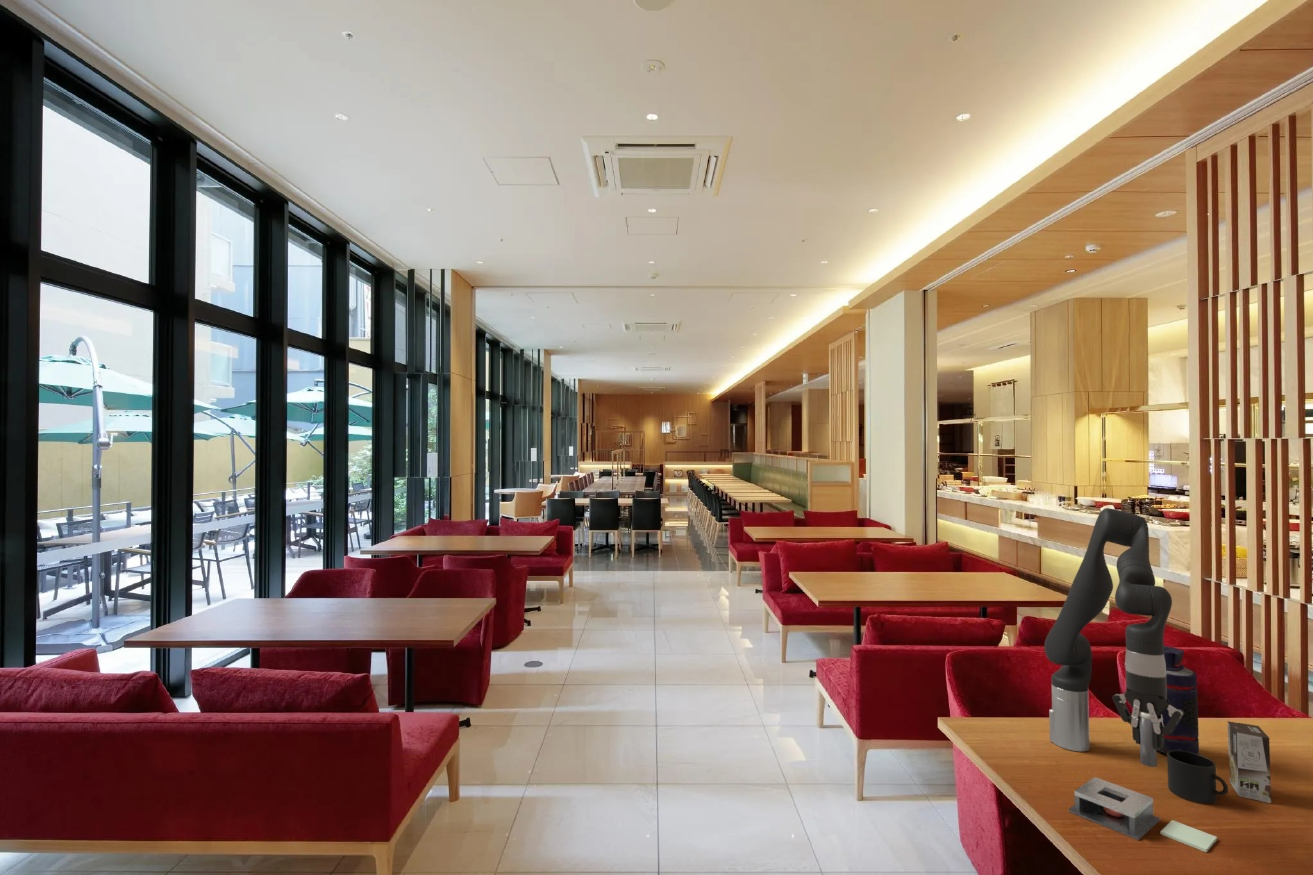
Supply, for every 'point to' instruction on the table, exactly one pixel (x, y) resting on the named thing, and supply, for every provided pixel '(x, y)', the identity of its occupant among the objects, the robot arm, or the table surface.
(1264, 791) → the coffee box
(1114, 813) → the button
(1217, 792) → the mug
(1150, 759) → the peg
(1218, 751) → the table surface
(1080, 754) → the table surface
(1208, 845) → the pad
